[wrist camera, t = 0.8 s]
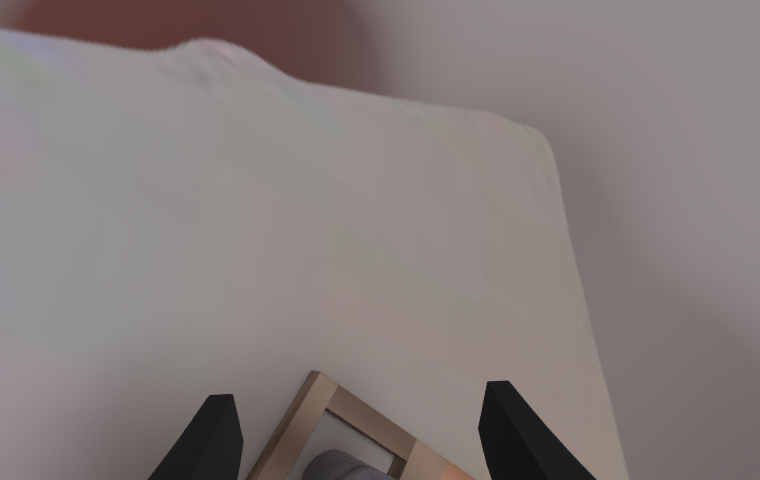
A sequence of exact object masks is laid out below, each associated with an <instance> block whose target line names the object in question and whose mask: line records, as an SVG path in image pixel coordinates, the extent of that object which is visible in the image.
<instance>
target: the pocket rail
mask: <svg viewBox="0 0 760 480" xmlns="http://www.w3.org/2000/svg"><path fill="white" fill-rule="evenodd" d="M324 410H327V411H328V412H330V413H331V414H333V415H334V416H336V417H337V418H339V419H340V420H342V421H343V422H345V423H346V424H348V425H349V426H351V427H352V428H354V429H355V430H357V431H358V432H360V433H361V434H363V435H364V436H366V437H367V438H369V439H370V440H372V441H373V442H375V443H376V444H378V445H379V446H381V447H382V448H384V449H385V450H387V451H388V452H390V453H391V454H393V455H394V456H395V459H394V461H393V463H392V465H391V468H390V470H389V472H388V474H387V475H389V476H390V477H392V478H394V479H396V480H475V479H474V478H472V477H471V476H469V475H468V474H466V473H465V472H464V471H462V470H461V469H459V468H458V467H456V466H455V465H453V464H452V463H451V462H449V461H448V460H446V459H445V458H443V457H442V456H440V455H439V454H438V453H436V452H435V451H433V450H432V449H430V448H429V447H428V446H426V445H425V444H423V443H422V442H420V441H419V440H417V439H416V438H415V437H413V436H412V435H410V434H409V433H407V432H406V431H405V430H403V429H402V428H400V427H399V426H397V425H396V424H394V423H393V422H392V421H390V420H389V419H387V418H386V417H384V416H383V415H382V414H380V413H379V412H377V411H376V410H374V409H373V408H371V407H370V406H369V405H367V404H366V403H364V402H363V401H361V400H360V399H359V398H357V397H356V396H354V395H353V394H351V393H350V392H348V391H347V390H346V389H344V388H343V387H341V386H340V385H338V384H337V383H335V382H334V381H333V380H331V379H330V378H328V377H327V376H325V375H324V374H323V373H321V372H317V371H312V372H311V373H310V375H309V377H308V378H307V380H306V382H305V383H304V385H303V386H302V388H301V390H300V391H299V393H298V395H297V396H296V398H295V400H294V401H293V403H292V405H291V406H290V408H289V410H288V411H287V413H286V415H285V416H284V418H283V420H282V421H281V423H280V425H279V426H278V428H277V430H276V431H275V433H274V434H273V436H272V438H271V439H270V441H269V443H268V444H267V446H266V448H265V449H264V451H263V453H262V454H261V456H260V458H259V459H258V461H257V463H256V464H255V466H254V468H253V469H252V471H251V473H250V474H249V476H248V477H247V479H246V480H286V478H287V476H288V475H289V473H290V471H291V469H292V468H293V466H294V464H295V462H296V460H297V459H298V457H299V455H300V453H301V451H302V450H303V448H304V446H305V444H306V442H307V441H308V439H309V437H310V435H311V434H312V432H313V430H314V428H315V426H316V425H317V423H318V421H319V419H320V417H321V416H322V414H323V412H324Z"/></svg>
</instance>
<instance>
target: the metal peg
mask: <svg viewBox="0 0 760 480" xmlns="http://www.w3.org/2000/svg"><path fill="white" fill-rule="evenodd" d="M302 480H396V479H394V478H392V477H390V476H389V475H387V474H385V473H383V472H381V471H379V470H377V469H375V468H373V467H371V466H369V465H367V464H366V463H364V462H362V461H360V460H358V459H356V458H354V457H352V456H350V455H348V454H346V453H345V452H342V451H339V450H330V451H326V452H324V453H322V454H320V455H318V456H317V457H316V458H315V459H314V460H313V461H312V462H311V463H310V464H309V465H308V467H307V469H306V470H305V472H304V474H303V477H302Z"/></svg>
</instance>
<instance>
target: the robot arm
mask: <svg viewBox="0 0 760 480" xmlns="http://www.w3.org/2000/svg"><path fill="white" fill-rule="evenodd" d="M478 430H479V435H480V439H481V443H482V448H483V452H484V456H485V460H486V464H487V467H488V470H489V473H490V476H491V479H492V480H596V479H595V478H594V477H593V476H592V475H591V473H590V472H589V471H588V470H587V469H586V468H585V467H584V466H583V465H582V464H581V463H580V462H579V461H578V460H577V459H576V458H575V457H574V456H573V455H572V454H571V453H570V452H569V450H568V449H567V448H566V447H565V446H564V445H563V444H562V443H561V442H560V440H559V439H558V438H557V437H556V436H555V435H554V434H553V433H552V432H551V430H550V429H549V428H548V427H547V426H546V425H545V424H544V422H543V421H542V420H541V419H540V418H539V417H538V415H537V414H536V413H535V412H534V411H533V409H532V408H531V407H530V406H529V405H528V403H527V402H526V401H525V400H524V399H523V397H522V396H521V395H520V394H519V393H518V391H517V390H516V389H515V388H514V386H513V385H512V384H511V383H510V382H509V381H488V382H487V386H486V391H485V396H484V401H483V406H482V411H481V416H480V421H479V426H478ZM243 443H244V441H243V437H242V432H241V428H240V423H239V419H238V415H237V410H236V406H235V401H234V397H233V394H222V395H210V396H209V397H208V398H207V399H206V400H205V402H204V403H203V405H202V406H201V408H200V409H199V410H198V412H197V413H196V415H195V416H194V418H193V419H192V421H191V422H190V423H189V425H188V426H187V428H186V429H185V431H184V432H183V433H182V435H181V436H180V437H179V439H178V440H177V442H176V443H175V444H174V446H173V447H172V448H171V450H170V451H169V452H168V454H167V455H166V456H165V458H164V459H163V460H162V462H161V463H160V464H159V465H158V467H157V468H156V469H155V471H154V472H153V473H152V475H151V476H150V477H149V478H148V480H237V478H238V473H239V467H240V461H241V455H242V449H243Z"/></svg>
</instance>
